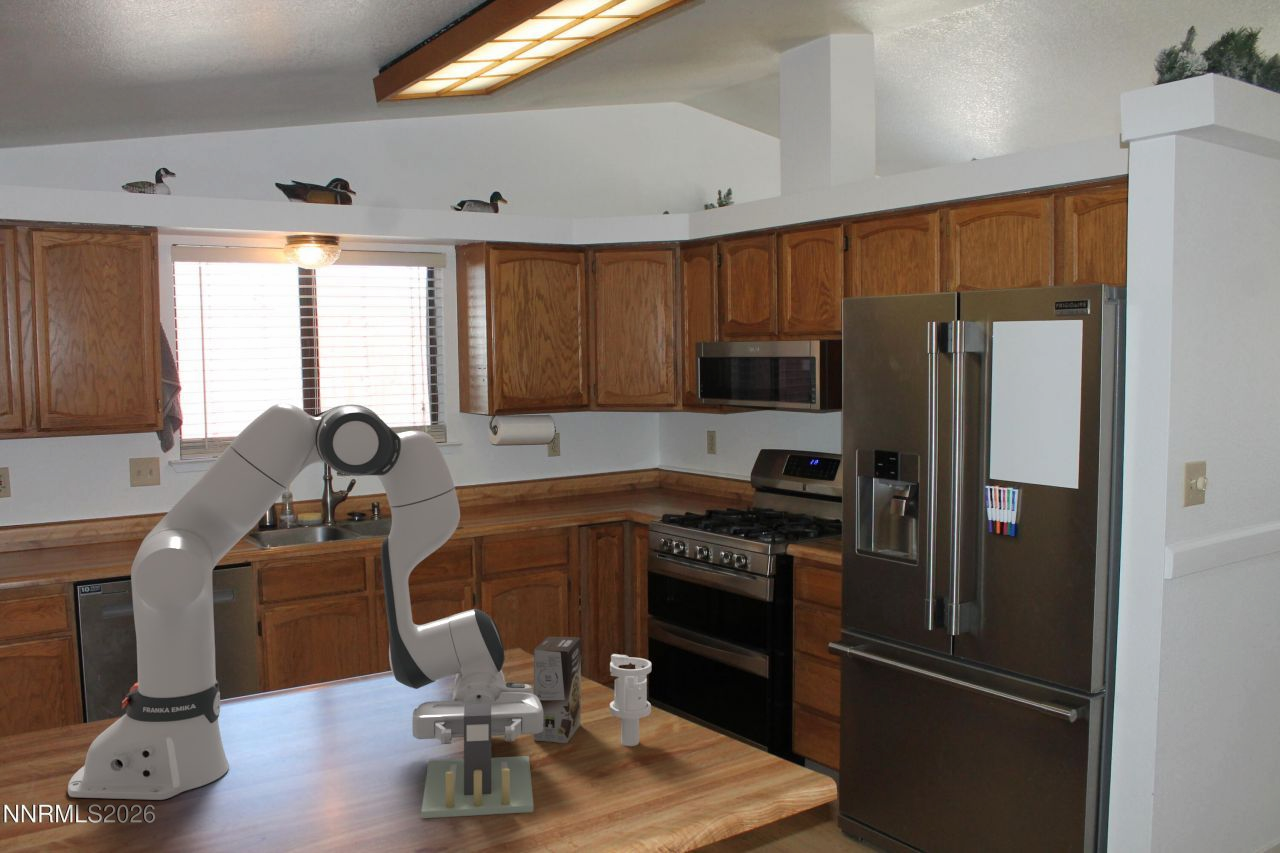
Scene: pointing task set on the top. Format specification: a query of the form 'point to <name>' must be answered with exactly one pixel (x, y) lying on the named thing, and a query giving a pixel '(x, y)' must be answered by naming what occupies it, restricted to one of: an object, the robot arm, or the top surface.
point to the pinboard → (477, 789)
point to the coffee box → (558, 687)
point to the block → (477, 746)
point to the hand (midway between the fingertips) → (478, 737)
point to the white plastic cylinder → (630, 695)
